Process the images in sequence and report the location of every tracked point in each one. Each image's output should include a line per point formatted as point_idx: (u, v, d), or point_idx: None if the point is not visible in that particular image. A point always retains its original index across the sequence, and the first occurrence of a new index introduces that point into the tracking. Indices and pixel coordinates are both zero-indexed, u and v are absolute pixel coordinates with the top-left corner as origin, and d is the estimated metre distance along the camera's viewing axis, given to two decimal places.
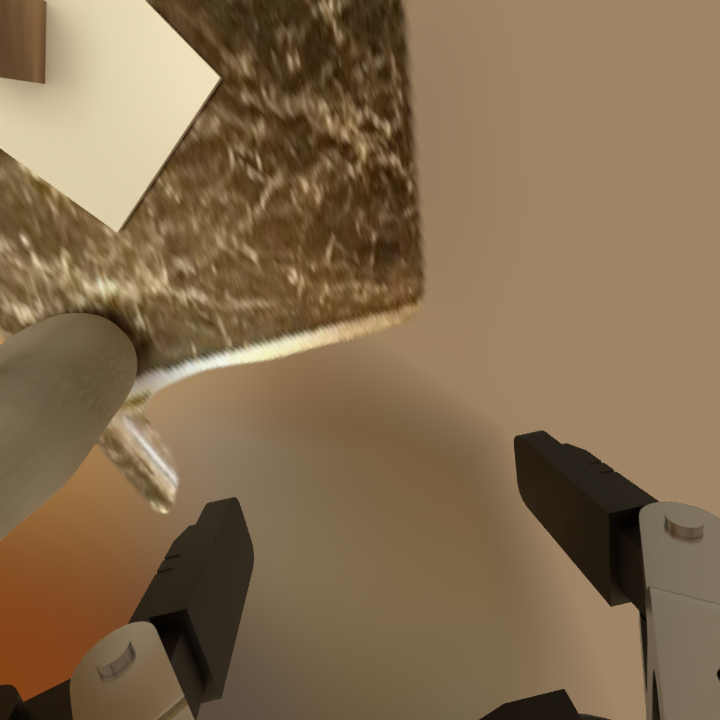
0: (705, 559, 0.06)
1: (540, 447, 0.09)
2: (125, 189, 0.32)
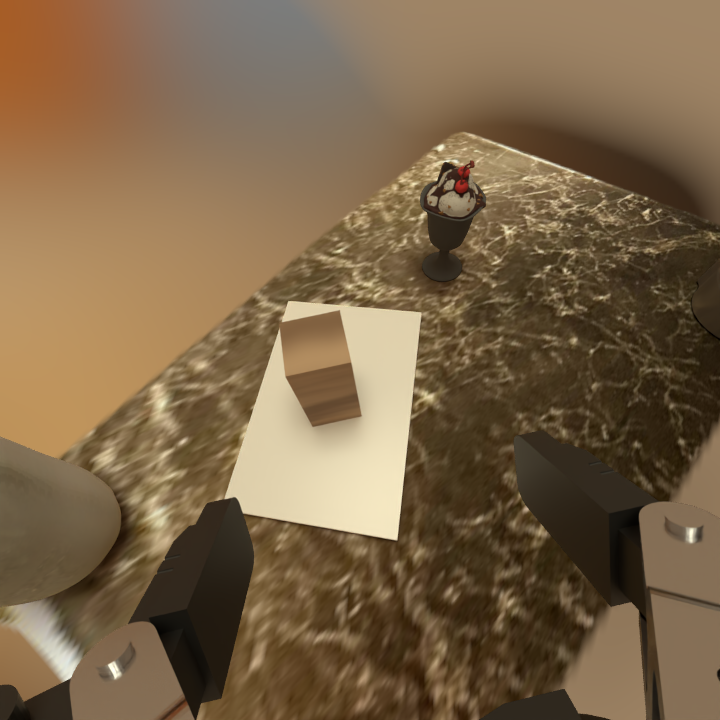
0: (705, 559, 0.06)
1: (540, 447, 0.09)
2: (264, 502, 0.34)
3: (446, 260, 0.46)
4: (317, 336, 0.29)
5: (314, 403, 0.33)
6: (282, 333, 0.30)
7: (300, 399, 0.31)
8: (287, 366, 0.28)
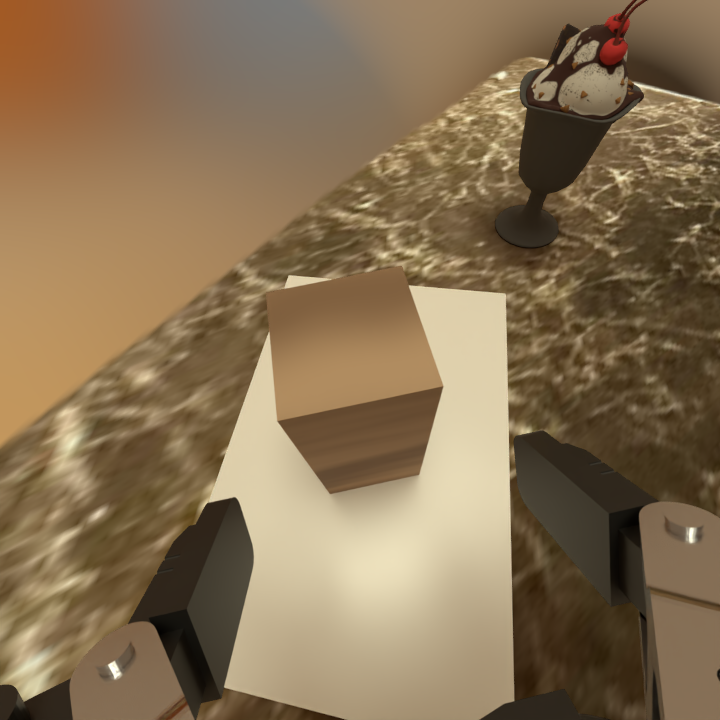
0: (705, 559, 0.06)
1: (540, 447, 0.09)
2: (236, 654, 0.17)
3: (538, 214, 0.29)
4: (354, 322, 0.13)
5: (338, 464, 0.16)
6: (273, 315, 0.13)
7: (311, 459, 0.15)
8: (283, 394, 0.11)
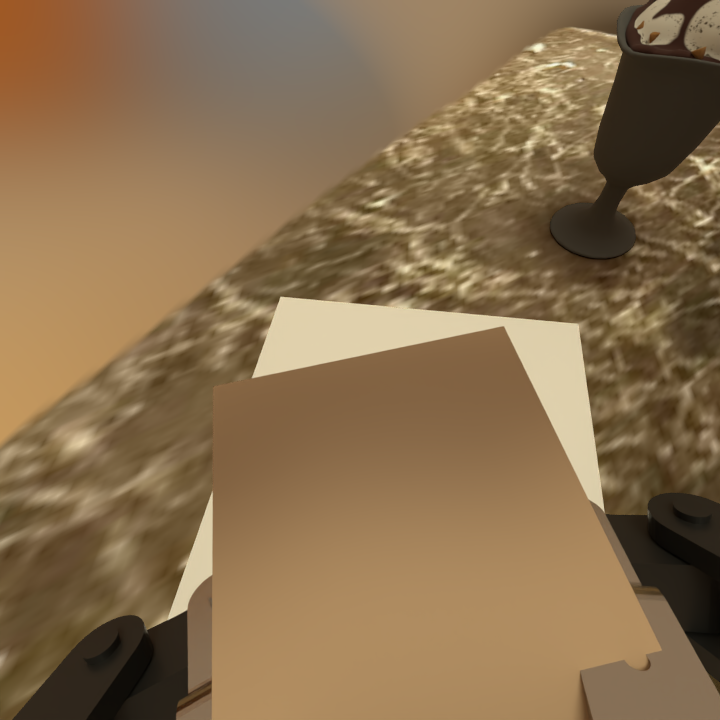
0: None
1: None
2: None
3: (613, 214, 0.22)
4: (413, 473, 0.05)
5: None
6: (224, 447, 0.06)
7: None
8: (234, 716, 0.04)
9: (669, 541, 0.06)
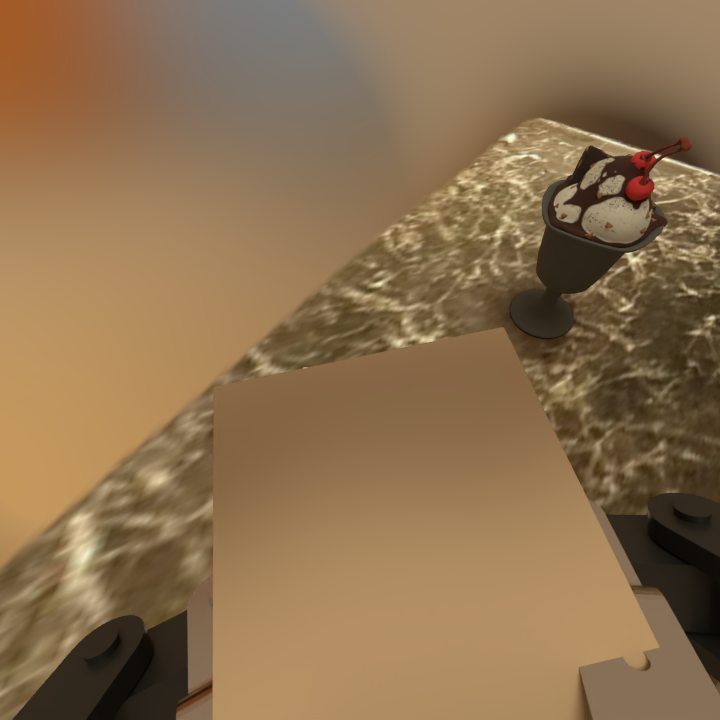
0: None
1: None
2: None
3: (554, 306, 0.29)
4: (413, 474, 0.05)
5: None
6: (224, 448, 0.06)
7: None
8: (235, 716, 0.04)
9: (669, 541, 0.06)
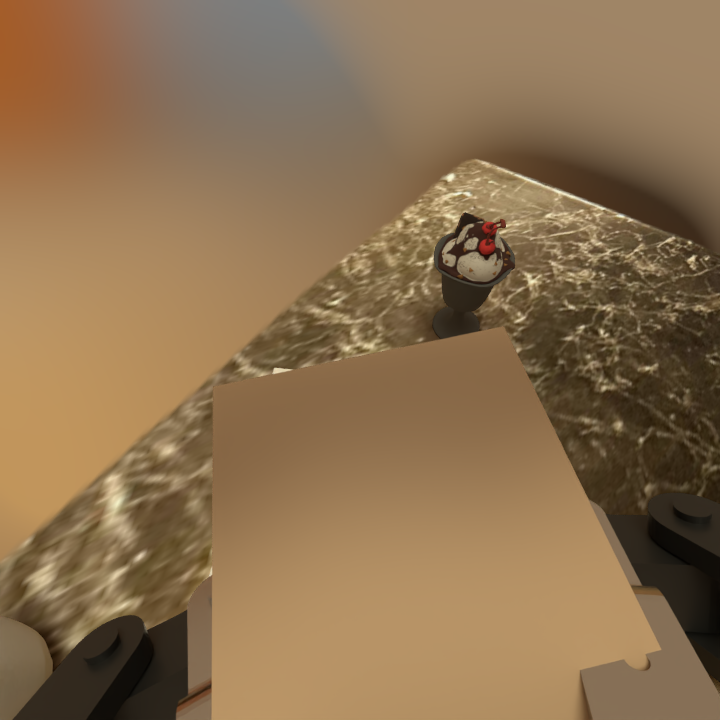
0: None
1: None
2: None
3: (462, 319, 0.39)
4: (412, 474, 0.05)
5: None
6: (224, 448, 0.06)
7: None
8: (234, 717, 0.04)
9: (669, 541, 0.06)
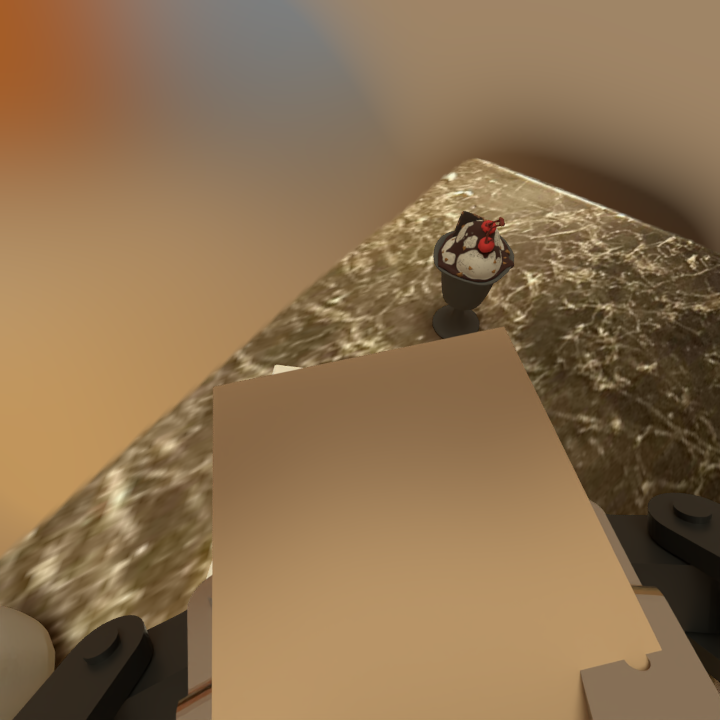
0: None
1: None
2: None
3: (461, 318, 0.39)
4: (413, 474, 0.05)
5: None
6: (224, 448, 0.06)
7: None
8: (234, 718, 0.04)
9: (669, 541, 0.06)
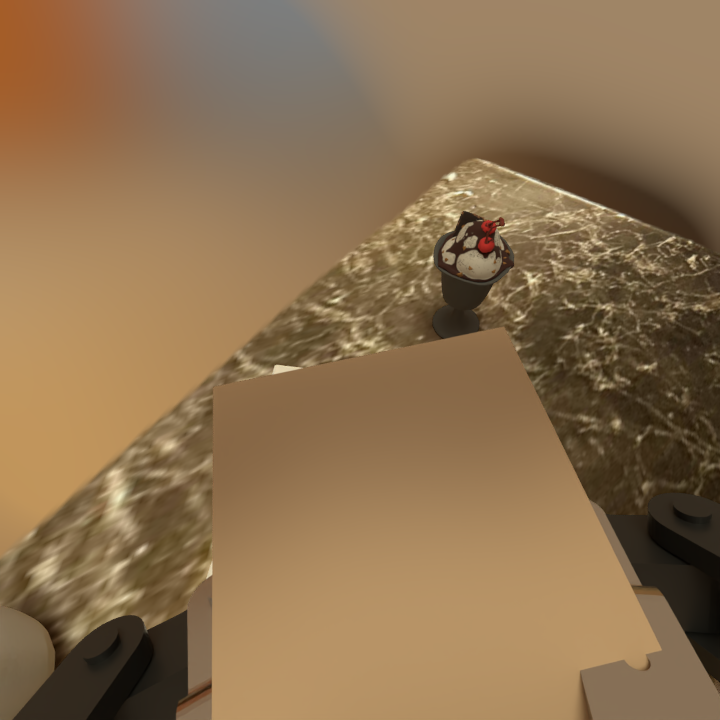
0: None
1: None
2: None
3: (461, 318, 0.39)
4: (413, 474, 0.05)
5: None
6: (224, 448, 0.06)
7: None
8: (234, 718, 0.04)
9: (669, 541, 0.06)
